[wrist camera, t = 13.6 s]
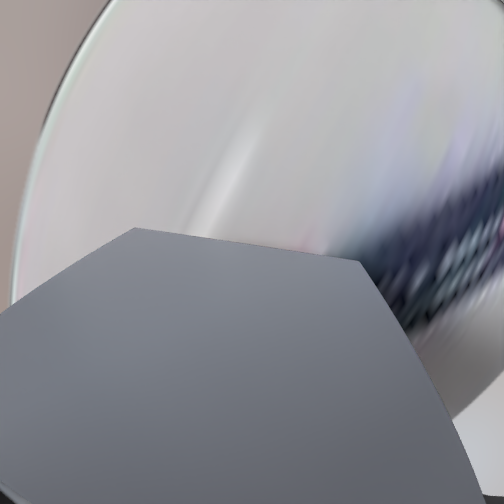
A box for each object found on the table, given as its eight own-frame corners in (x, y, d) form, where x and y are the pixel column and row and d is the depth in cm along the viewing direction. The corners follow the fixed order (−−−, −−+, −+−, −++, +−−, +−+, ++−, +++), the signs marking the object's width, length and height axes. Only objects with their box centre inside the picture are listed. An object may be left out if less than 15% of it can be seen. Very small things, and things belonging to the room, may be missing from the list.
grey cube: (307, 415, 12) (310, 593, 4) (145, 387, 12) (67, 540, 4) (359, 261, 9) (493, 527, 1) (134, 227, 10) (-86, 387, 1)
